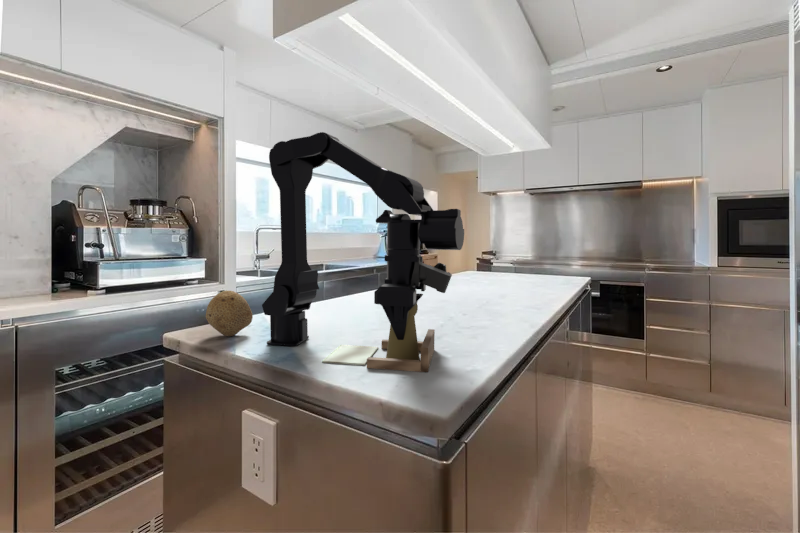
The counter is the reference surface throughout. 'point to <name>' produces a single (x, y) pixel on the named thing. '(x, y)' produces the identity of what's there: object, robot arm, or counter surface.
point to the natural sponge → (228, 313)
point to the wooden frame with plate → (364, 355)
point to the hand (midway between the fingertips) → (402, 336)
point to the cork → (404, 340)
